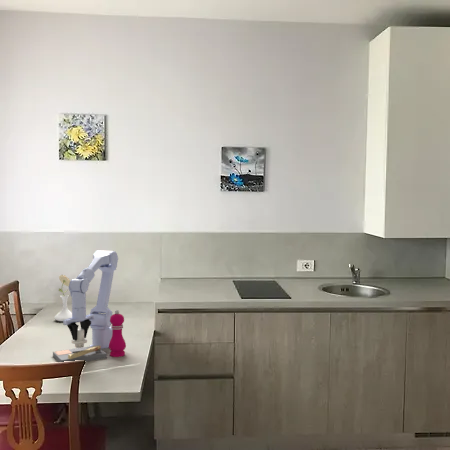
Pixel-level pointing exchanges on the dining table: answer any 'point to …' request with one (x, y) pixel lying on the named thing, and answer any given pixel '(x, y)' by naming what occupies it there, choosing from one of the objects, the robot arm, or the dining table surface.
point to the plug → (79, 339)
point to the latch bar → (84, 352)
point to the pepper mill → (117, 335)
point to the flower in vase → (64, 301)
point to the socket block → (63, 356)
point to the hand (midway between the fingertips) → (79, 338)
